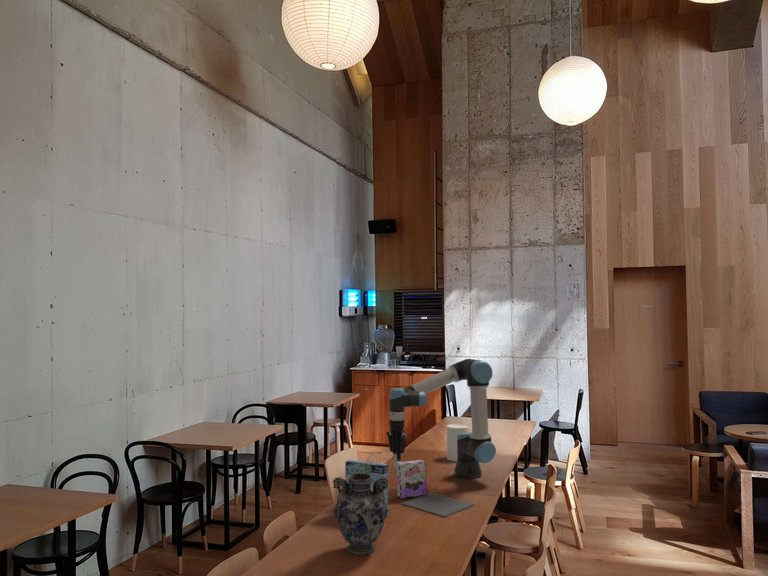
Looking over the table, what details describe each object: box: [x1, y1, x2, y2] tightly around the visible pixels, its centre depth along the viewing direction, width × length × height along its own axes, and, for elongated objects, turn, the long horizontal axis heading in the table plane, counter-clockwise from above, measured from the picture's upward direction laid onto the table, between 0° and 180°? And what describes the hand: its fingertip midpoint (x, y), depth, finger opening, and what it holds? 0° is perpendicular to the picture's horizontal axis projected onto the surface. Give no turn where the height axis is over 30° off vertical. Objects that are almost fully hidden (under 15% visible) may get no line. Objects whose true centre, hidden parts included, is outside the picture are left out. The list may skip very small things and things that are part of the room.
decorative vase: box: [332, 474, 389, 556], centre depth 227 cm, size 21×19×28 cm
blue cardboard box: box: [344, 459, 389, 518], centre depth 267 cm, size 20×5×23 cm, turn 66°
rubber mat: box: [401, 492, 475, 518], centre depth 279 cm, size 22×26×1 cm
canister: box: [446, 423, 470, 462], centre depth 366 cm, size 14×14×20 cm
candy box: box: [395, 459, 428, 499], centre depth 292 cm, size 14×6×16 cm, turn 105°
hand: (396, 466), depth 299 cm, fingers closed
